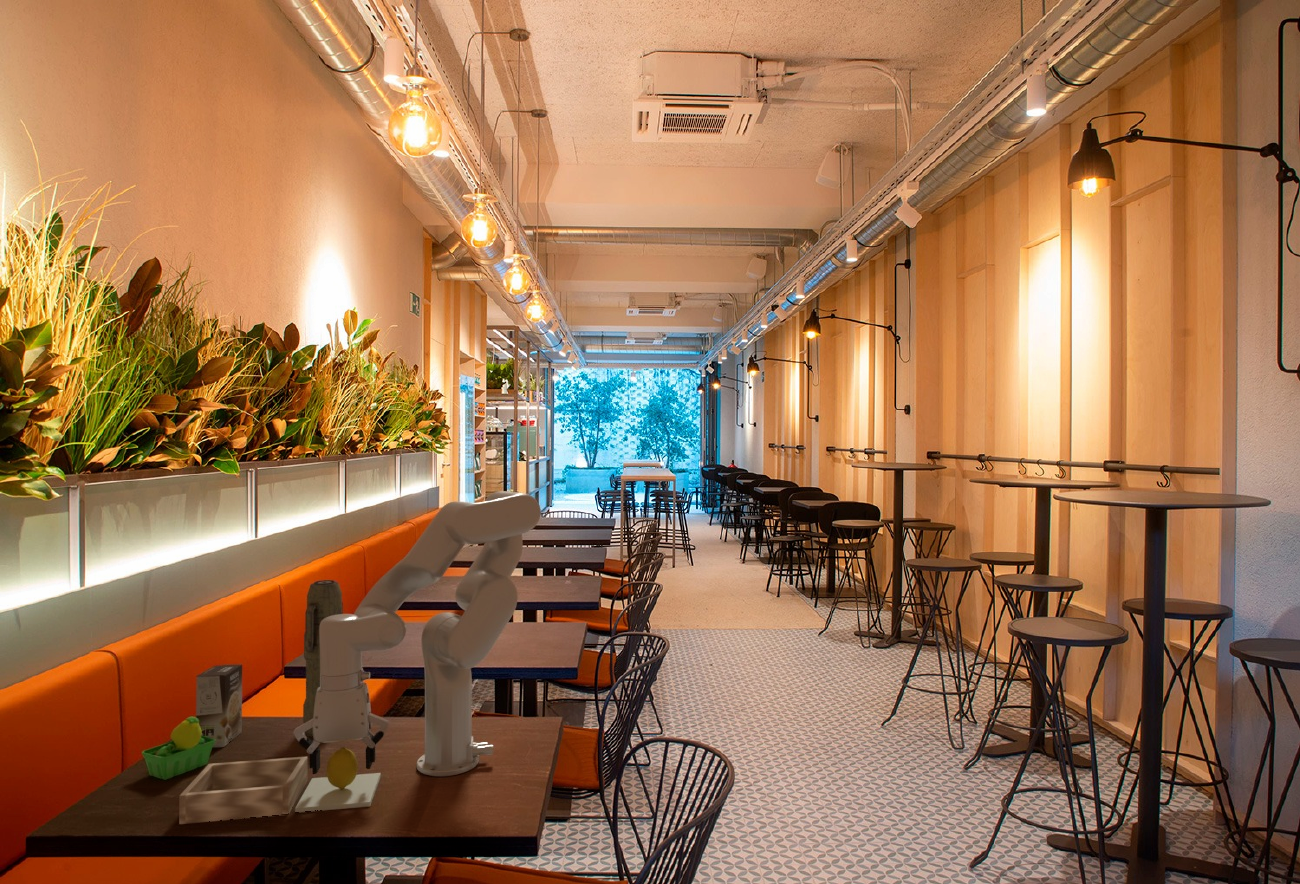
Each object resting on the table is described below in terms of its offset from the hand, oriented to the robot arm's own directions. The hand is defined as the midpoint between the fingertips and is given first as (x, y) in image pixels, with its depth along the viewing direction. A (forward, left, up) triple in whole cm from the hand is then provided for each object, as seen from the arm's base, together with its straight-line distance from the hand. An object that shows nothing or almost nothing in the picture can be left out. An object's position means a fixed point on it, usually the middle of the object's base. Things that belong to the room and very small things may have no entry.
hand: (342, 768), depth 147 cm
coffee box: (+33, -34, -5) cm, 47 cm away
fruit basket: (+35, -18, -5) cm, 39 cm away
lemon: (0, 0, -4) cm, 4 cm away
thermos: (+11, -36, -5) cm, 38 cm away
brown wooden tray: (+17, 0, -5) cm, 18 cm away
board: (0, 0, -5) cm, 5 cm away
